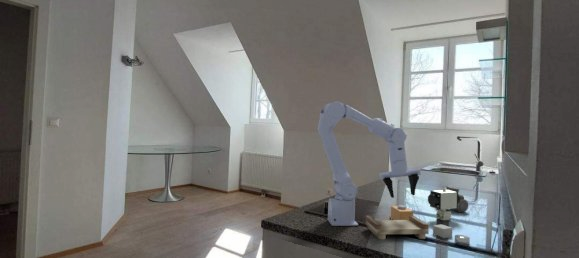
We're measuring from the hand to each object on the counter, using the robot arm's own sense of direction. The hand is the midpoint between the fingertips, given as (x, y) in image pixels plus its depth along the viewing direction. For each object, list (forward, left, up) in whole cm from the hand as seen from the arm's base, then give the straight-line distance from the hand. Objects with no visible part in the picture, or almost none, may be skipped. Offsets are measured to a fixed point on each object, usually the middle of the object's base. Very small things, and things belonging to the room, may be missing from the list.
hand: (402, 195), depth 116 cm
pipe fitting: (+31, +17, -10) cm, 37 cm away
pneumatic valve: (+18, +3, -10) cm, 21 cm away
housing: (0, 0, -10) cm, 10 cm away
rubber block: (+7, -15, -10) cm, 19 cm away
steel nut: (+9, -22, -10) cm, 26 cm away
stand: (-8, -13, -10) cm, 18 cm away
